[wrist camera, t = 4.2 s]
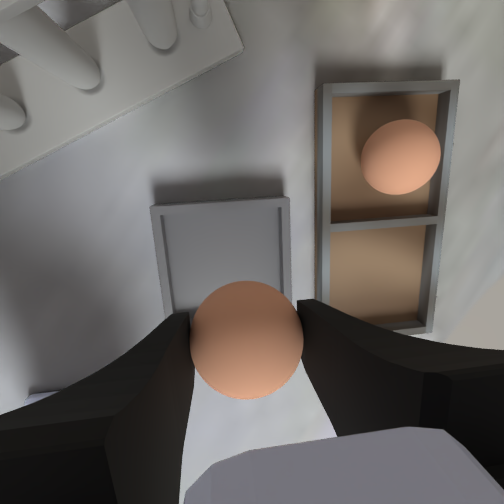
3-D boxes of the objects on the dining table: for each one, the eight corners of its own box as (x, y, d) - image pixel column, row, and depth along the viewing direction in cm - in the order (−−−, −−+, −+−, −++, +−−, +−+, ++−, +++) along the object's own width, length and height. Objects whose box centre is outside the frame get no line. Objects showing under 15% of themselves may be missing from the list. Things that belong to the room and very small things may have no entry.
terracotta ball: (290, 348, 13) (319, 419, 10) (198, 359, 13) (191, 437, 9) (287, 262, 12) (319, 302, 9) (187, 271, 12) (175, 318, 8)
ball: (407, 190, 20) (454, 194, 16) (348, 194, 19) (381, 199, 15) (412, 123, 19) (464, 111, 15) (349, 126, 18) (385, 114, 14)
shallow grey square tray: (287, 311, 21) (292, 321, 20) (170, 323, 21) (167, 334, 19) (284, 195, 19) (289, 197, 18) (154, 204, 18) (149, 206, 17)
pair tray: (418, 322, 23) (432, 332, 21) (314, 334, 22) (321, 345, 21) (441, 86, 19) (459, 79, 17) (314, 90, 18) (323, 83, 16)
